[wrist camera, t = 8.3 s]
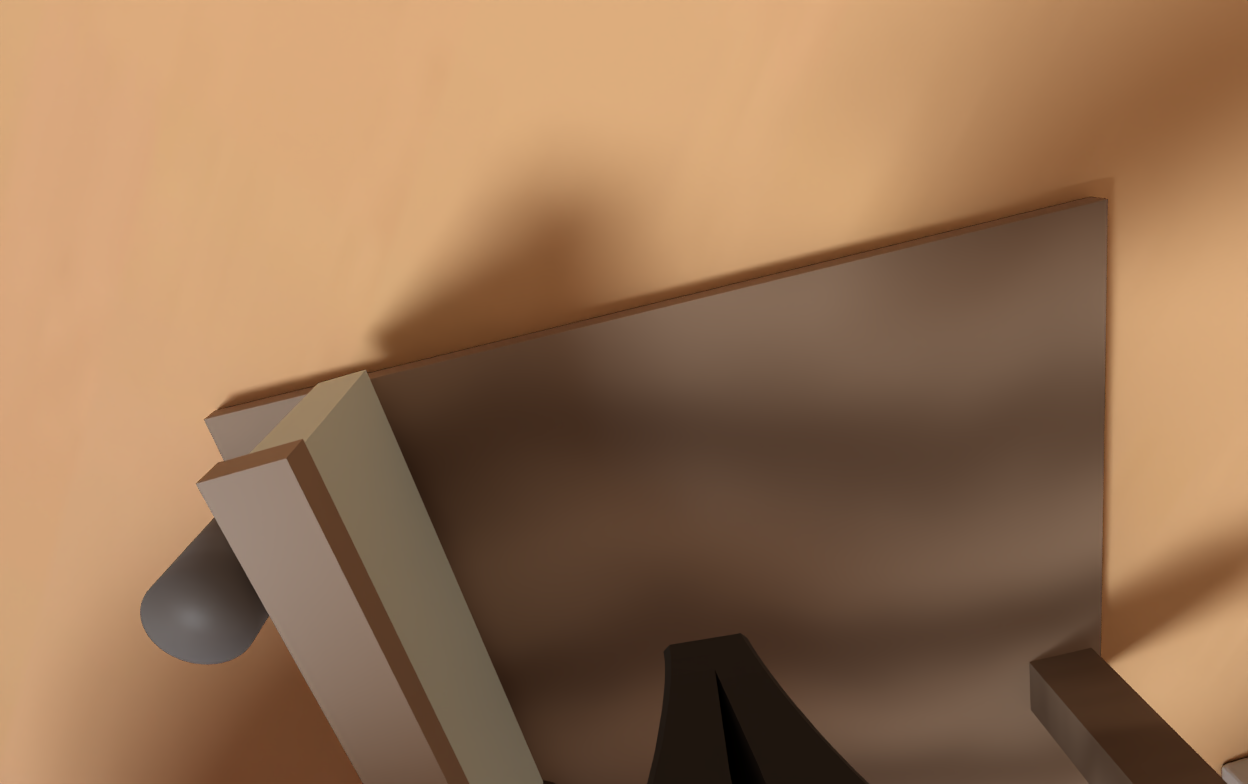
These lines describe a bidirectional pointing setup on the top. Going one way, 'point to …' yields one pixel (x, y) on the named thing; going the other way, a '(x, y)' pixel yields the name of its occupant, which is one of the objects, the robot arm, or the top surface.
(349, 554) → the panel
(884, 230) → the top surface
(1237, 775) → the coffee box
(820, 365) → the brown piece
